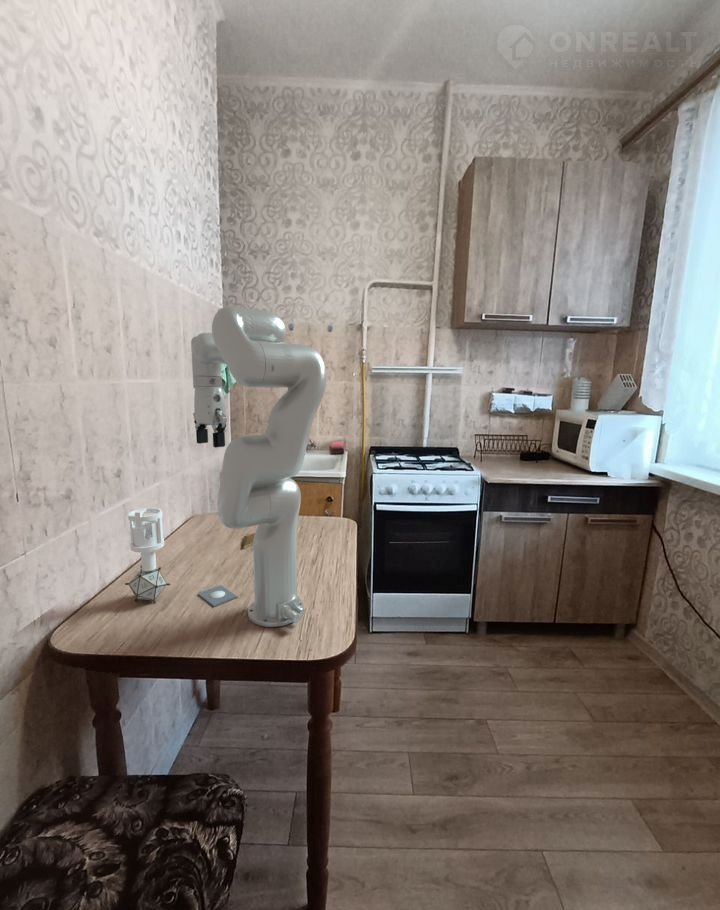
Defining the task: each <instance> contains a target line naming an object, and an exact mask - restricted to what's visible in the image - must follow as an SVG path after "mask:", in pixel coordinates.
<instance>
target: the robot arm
mask: <svg viewBox="0 0 720 910" xmlns="http://www.w3.org/2000/svg"><path fill="white" fill-rule="evenodd" d="M211 323H212V324H211V332H201V333H198V334H197V335H196V336H193V337H192V338H191V341H190V348H191V349H190V350H191V364H192V365H191V366H192V367H191V368H192V370H191V371H192V386H193V389H194V398H193V399H194V403H193V404H194V405H193V406H194V407H193V409H194V412H193V413H192V415H193V419H194V420H193V421H194V425H195V426H194V428H195V435H196V436H195V437H196V444H208V442H209V434H208V433H209V431H208V430H209V429H208V428H207V427H208V426H211V427H212V430H213V432H212V445H213V446H212V447H213V448H222V447H223V448H224V447H226V435H225V434H226V427H227V421H228V417H227V407H226V400H225V393H224V390H223V371H222V370H223V369H222V368H223V367H222V365H226V367H227V369H228V370H229V373H230V374H231V376H232V377H233V378H234V380H235V381H236V382H237V383H238V384H240V385H241V386H243V387H248V388H287V391H286V392H285V393H283V394H282V396H281V397H280V398H278V400H277V401H276V403H275V404H274V405H273V407H272V408H271V410H270V413H269V416H268V420H267V426H266V430H265V432H263V433H262V434H255V435H254V434H253V435H244V436H239V437H236V438H234V439H233V440H231V441H230V442H229V443H228V444H227V447H226V448H225V450H224V454H223V459H222V466H221V474H220V481H219V488H218V489H219V490H218V494H217V495H218V496H217V512H218V517H219V520H220V521H221V523H222V524H223V526H225V527H226V528H228V529H231V530H239V529H244V528H250V527H255V526H257V527H256V530H255V532H254V533H255V535H254V540H253V546H252V551H253V552H252V555H253V556H252V557H253V561H252V562H253V585H254V586H253V587H254V588H253V590H254V601H253V602H252V603H251V604H250V605H249V606H248V608H247V616H248V619H249V621H251V622H252V623H253V624H255V625H257V626H261V627H266V628H274V627H275V628H277V627H283V626H286V625H290V624H293V623H294V624H297V623H299V622H300V620H301V617H302V616H303V615H304V614H305V612H306V609H305V604H304V602H303V601H302V599H301V598H300V596H298V554H297V553H298V550H297V547H298V542H297V539H298V537H297V536H298V534H297V533H298V532H297V531H298V521H299V514H300V509H301V502H302V496H301V489H300V487H299V485H298V483H297V482H296V481H295V479H292V478H294V477H296V476H297V475H298V474H299V472H300V471H301V469H302V467H303V464H304V459H305V455H306V453H307V448H308V443H309V438H310V436H311V432H312V431H311V430H312V425H313V423H314V420H315V417H316V414H317V412H318V410H319V407H320V405H321V403H322V401H323V397H324V394H325V390H326V386H327V370H326V364H325V362H324V359H323V357H322V356H321V354H320V353H319V352H318V351H317V350H316V349H314V348H312V347H309V346H306V345H302V344H297V343H291V342H285V340H286V336H287V329H286V325H285V323H284V322H283V320H282V318H280V317H279V316H278V315H277V314H275V313H274V312H272V311H271V312H270V311H267V310H262V309H256V308H255V309H254V308H248V307H241V306H235V305H227V306H223V307H221V308H220V309H219V310H217V312H215V315H214V316H213V319H212V322H211Z"/></svg>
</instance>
